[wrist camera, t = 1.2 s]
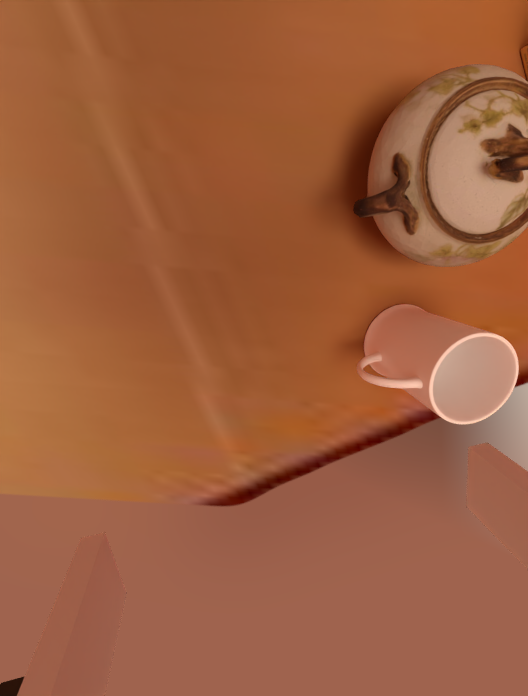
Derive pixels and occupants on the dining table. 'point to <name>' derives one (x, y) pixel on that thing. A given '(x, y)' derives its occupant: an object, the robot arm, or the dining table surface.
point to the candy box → (525, 59)
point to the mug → (440, 362)
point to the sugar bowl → (453, 167)
